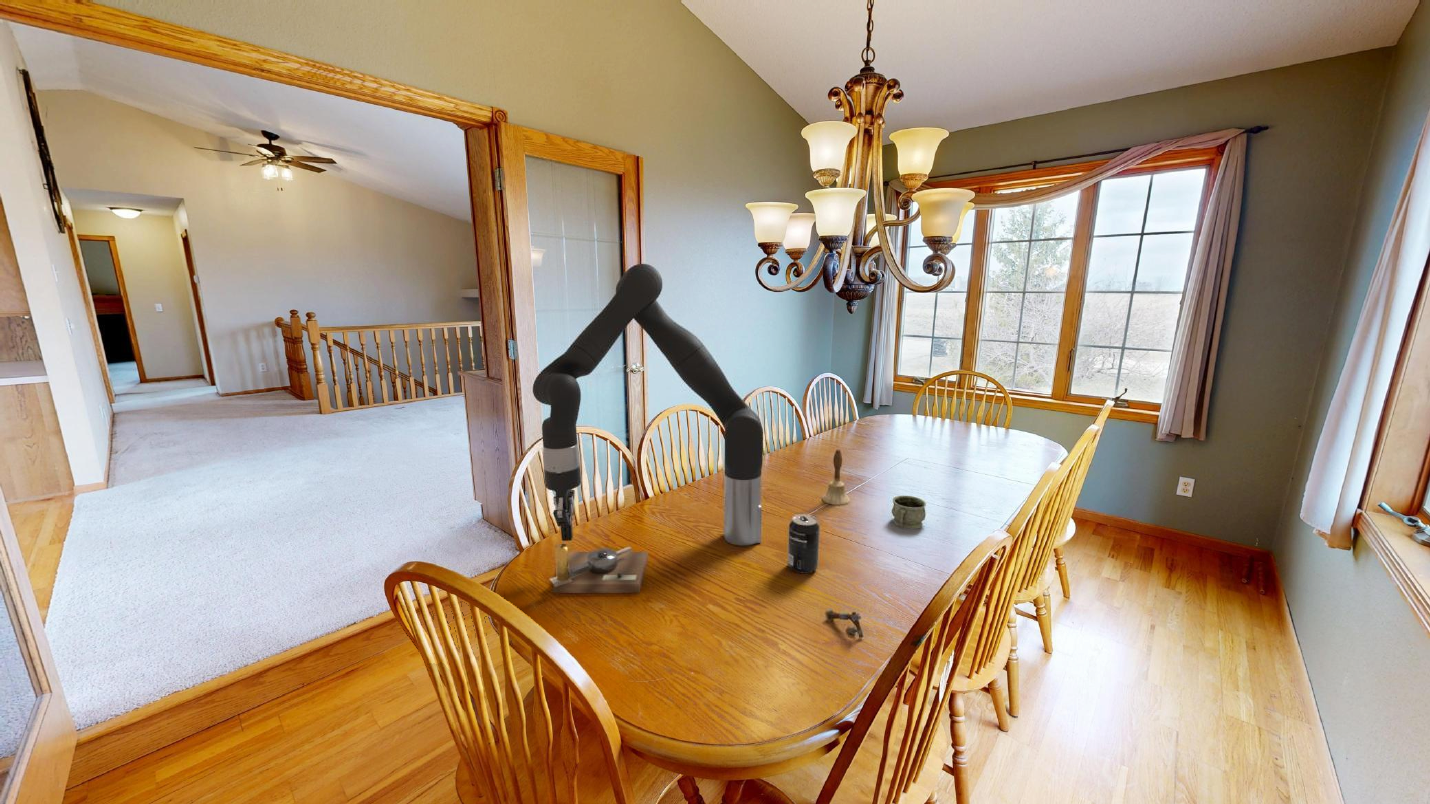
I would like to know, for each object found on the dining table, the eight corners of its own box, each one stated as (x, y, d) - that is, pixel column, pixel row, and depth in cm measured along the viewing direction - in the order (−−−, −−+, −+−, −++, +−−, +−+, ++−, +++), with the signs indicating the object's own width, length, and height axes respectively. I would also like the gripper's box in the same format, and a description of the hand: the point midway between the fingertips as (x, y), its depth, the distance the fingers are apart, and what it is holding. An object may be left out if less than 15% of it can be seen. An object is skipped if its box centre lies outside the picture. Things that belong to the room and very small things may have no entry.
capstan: (622, 549, 123) (621, 518, 122) (638, 559, 119) (637, 527, 117) (550, 577, 111) (548, 543, 109) (565, 589, 106) (563, 554, 105)
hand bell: (850, 506, 154) (853, 454, 151) (821, 504, 156) (824, 452, 152) (849, 496, 162) (852, 446, 159) (822, 493, 164) (824, 444, 160)
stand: (647, 559, 123) (647, 547, 123) (638, 595, 109) (638, 582, 108) (565, 559, 123) (564, 547, 122) (545, 595, 108) (544, 582, 108)
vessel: (899, 511, 151) (901, 491, 149) (931, 519, 145) (933, 498, 144) (883, 525, 141) (885, 504, 140) (916, 535, 136) (918, 512, 135)
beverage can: (808, 558, 124) (810, 511, 121) (823, 572, 118) (825, 523, 115) (782, 563, 122) (784, 515, 119) (796, 578, 115) (798, 527, 113)
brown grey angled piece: (863, 639, 94) (856, 614, 94) (830, 634, 100) (824, 610, 101) (869, 636, 95) (862, 610, 95) (837, 631, 101) (830, 607, 102)
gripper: (550, 456, 118) (555, 527, 122) (537, 476, 105) (543, 555, 109) (584, 454, 119) (588, 525, 123) (575, 474, 106) (580, 552, 110)
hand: (567, 539), depth 116 cm, fingers closed
